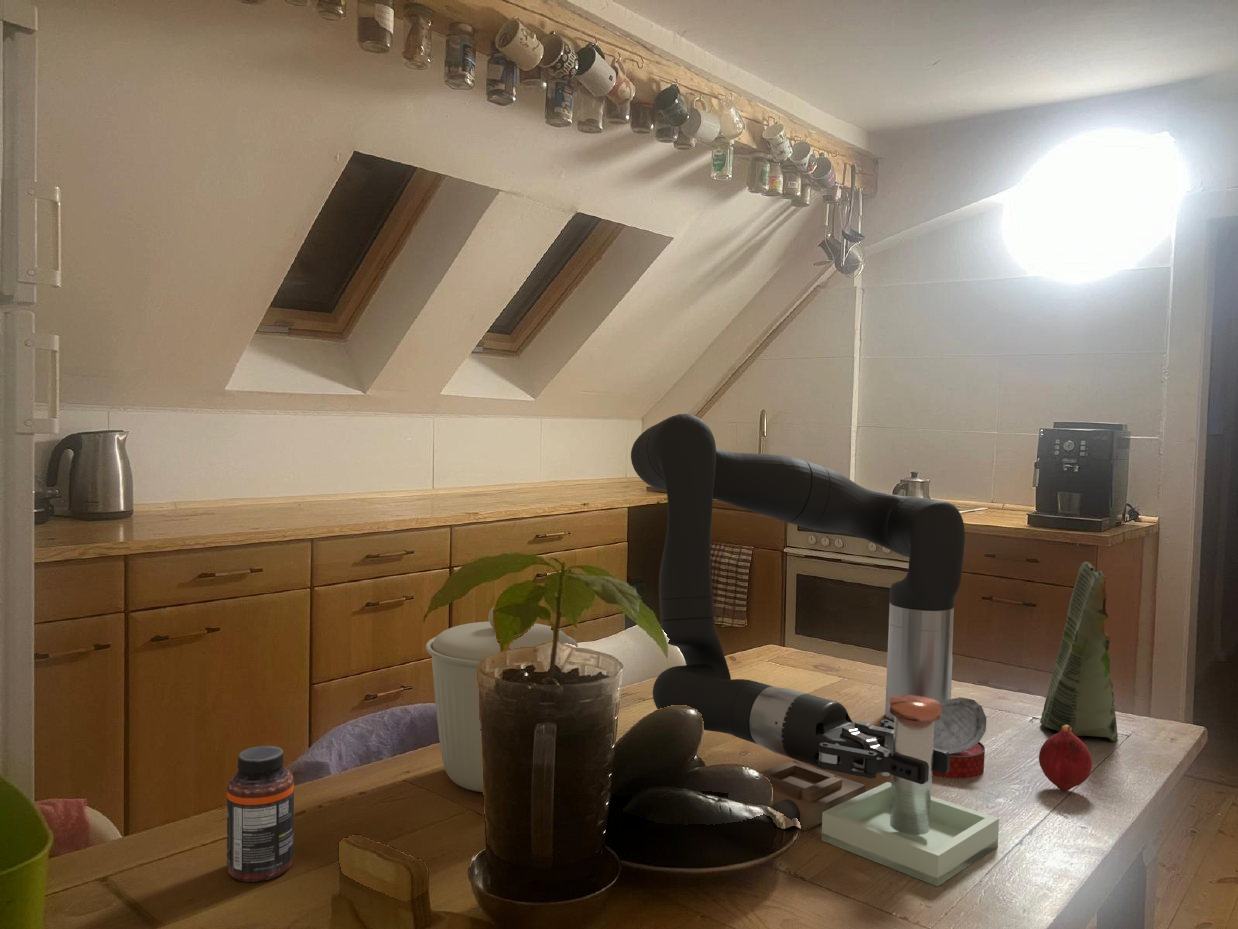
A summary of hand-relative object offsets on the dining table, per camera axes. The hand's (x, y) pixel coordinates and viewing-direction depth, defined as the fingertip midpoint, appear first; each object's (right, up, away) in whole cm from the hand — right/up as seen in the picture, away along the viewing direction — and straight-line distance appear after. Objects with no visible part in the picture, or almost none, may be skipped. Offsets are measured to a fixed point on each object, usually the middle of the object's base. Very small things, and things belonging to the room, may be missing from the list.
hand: (937, 768), depth 96 cm
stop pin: (-2, -7, +2) cm, 8 cm away
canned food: (+10, -8, +26) cm, 29 cm away
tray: (-2, -9, +2) cm, 9 cm away
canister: (-47, -7, +18) cm, 51 cm away
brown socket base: (-12, -8, +13) cm, 19 cm away
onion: (+22, -9, +18) cm, 30 cm away
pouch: (+35, -8, +40) cm, 54 cm away
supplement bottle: (-67, -8, -7) cm, 67 cm away
